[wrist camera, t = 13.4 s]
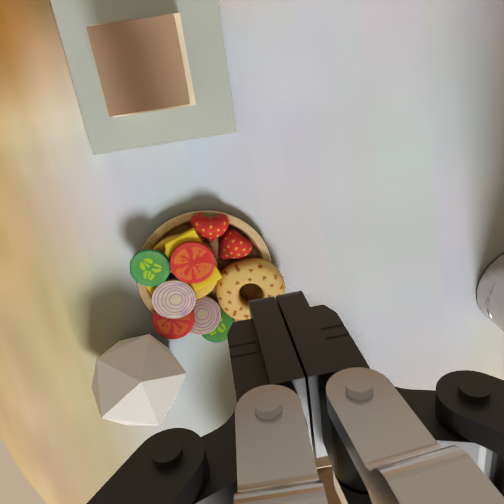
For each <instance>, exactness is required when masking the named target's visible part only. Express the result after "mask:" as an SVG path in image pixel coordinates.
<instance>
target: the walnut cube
mask: <svg viewBox="0 0 504 504" xmlns="http://www.w3.org/2000/svg"><path fill="white" fill-rule="evenodd" d="M86 28H87V32H88V36H89V40H90V44H91V48H92V52H93V55H94V59H95V63H96V67H97V71H98V75H99V79H100V83H101V86H102V90H103V94H104V98H105V102H106V106H107V110H108V114H109V117H111V116H117V115H124V114H130V113H136V112H143V111H149V110H155V109H162V108H168V107H175V106H181V105H187V104H190V100H189V94H188V88H187V83H186V77H185V72H184V67H183V61H182V56H181V50H180V45H179V40H178V34H177V29H176V23H175V19H174V15H173V14H171V15H164V16H157V17H150V18H143V19H136V20H129V21H122V22H115V23H108V24H101V25H94V26H87V27H86Z"/></svg>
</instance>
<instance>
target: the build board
mask: <svg viewBox="0 0 504 504" xmlns="http://www.w3.org/2000/svg"><path fill="white" fill-rule="evenodd" d="M50 1H51V4H52V8H53V12H54V15H55V19H56V22H57V26H58V30H59V33H60V37H61V40H62V44H63V48H64V51H65V55H66V58H67V62H68V65H69V69H70V73H71V76H72V80H73V83H74V87H75V91H76V94H77V98H78V101H79V105H80V109H81V112H82V116H83V119H84V123H85V126H86V130H87V134H88V137H89V141H90V144H91V148H92V152H93V155H97V154H103V153H109V152H115V151H122V150H128V149H134V148H140V147H147V146H153V145H159V144H165V143H172V142H178V141H184V140H190V139H197V138H203V137H209V136H215V135H222V134H228V133H234V132H237V130H236V123H235V116H234V109H233V102H232V95H231V88H230V81H229V75H228V68H227V61H226V54H225V47H224V40H223V33H222V26H221V19H220V13H219V6H218V0H50ZM173 13H180V17H181V23H182V28H183V34H184V40H185V45H186V51H187V57H188V62H189V68H190V73H191V79H192V85H193V90H194V96H195V102H196V105H191V106H185V107H179V108H172V109H166V110H159V111H153V112H146V113H140V114H133V115H127V116H120V117H114V118H113V116H111V117H109V114H108V110H107V106H106V102H105V98H104V94H103V90H102V86H101V83H100V79H99V75H98V71H97V67H96V63H95V59H94V55H93V52H92V48H91V44H90V40H89V36H88V32H87V28H86V27H87V26H90V25H95V24H102V23H109V22H116V21H123V20H130V19H138V18H145V17H152V16H159V15H166V14H173Z"/></svg>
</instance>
